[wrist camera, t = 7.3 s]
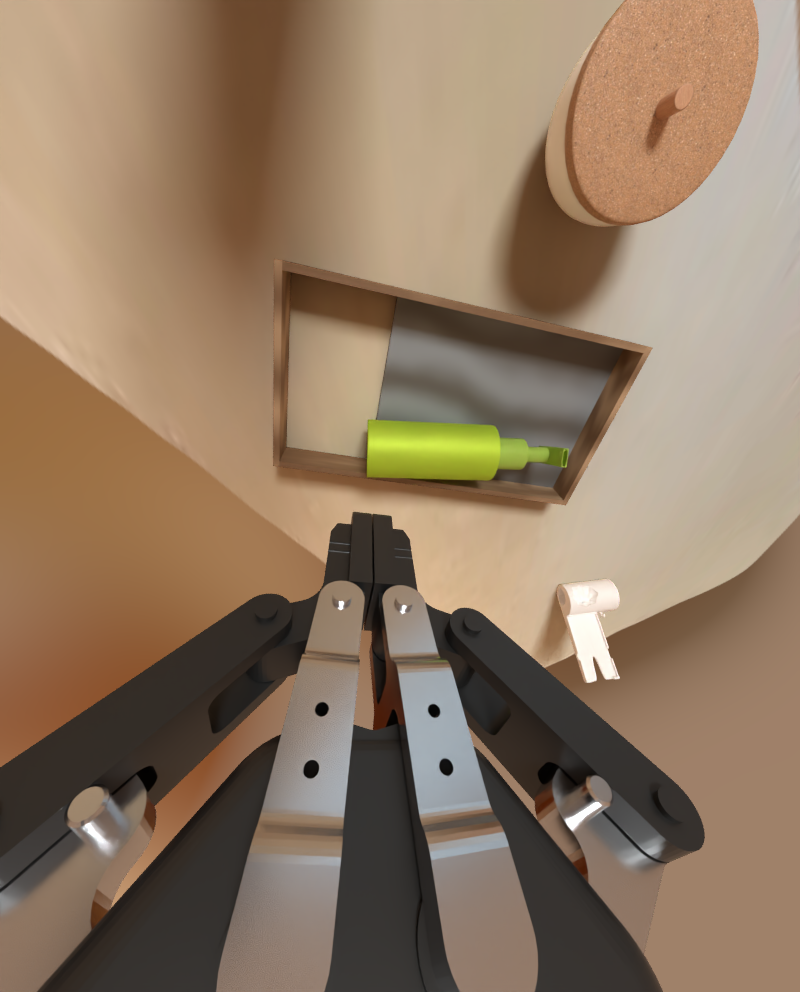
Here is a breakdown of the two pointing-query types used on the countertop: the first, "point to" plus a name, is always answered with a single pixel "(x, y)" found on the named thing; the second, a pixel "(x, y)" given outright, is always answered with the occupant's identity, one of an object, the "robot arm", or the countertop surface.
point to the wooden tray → (477, 385)
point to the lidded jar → (650, 108)
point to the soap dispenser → (449, 451)
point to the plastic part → (589, 623)
